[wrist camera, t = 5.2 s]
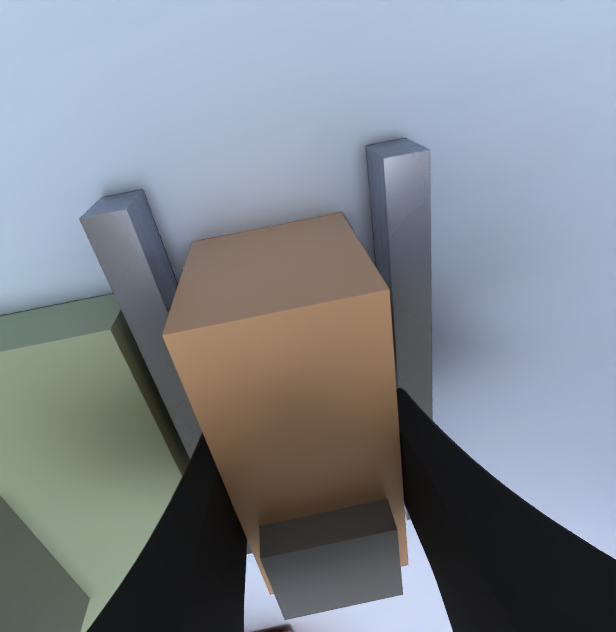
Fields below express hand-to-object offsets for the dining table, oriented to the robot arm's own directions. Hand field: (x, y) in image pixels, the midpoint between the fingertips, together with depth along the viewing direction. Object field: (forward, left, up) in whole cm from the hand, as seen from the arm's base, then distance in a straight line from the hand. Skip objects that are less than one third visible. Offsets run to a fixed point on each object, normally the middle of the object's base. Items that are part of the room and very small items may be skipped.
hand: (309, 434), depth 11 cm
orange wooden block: (0, 0, -3) cm, 3 cm away
